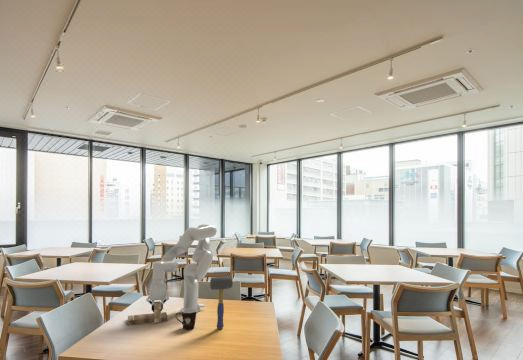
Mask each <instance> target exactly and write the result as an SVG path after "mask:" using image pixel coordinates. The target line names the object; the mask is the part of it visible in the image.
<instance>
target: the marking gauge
mask: <svg viewBox="0 0 523 360" xmlns="http://www.w3.org/2000/svg"><path fill="white" fill-rule="evenodd" d="M153 313H154V322H153V324H154V323H162V322H161V317H162V311H161V300H157V301H154V312H153Z"/></svg>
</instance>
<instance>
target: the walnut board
mask: <svg viewBox="0 0 523 360" xmlns="http://www.w3.org/2000/svg"><path fill="white" fill-rule="evenodd" d="M161 313H162V317H161V322H160V323H162V322H167V321H169V320H168V319H169V317H168V313H167V312H166V311H161ZM152 323H153V324H154V312H151V313H143V314H132V315H127V326H132V325H140V324H141V325H142V324H152Z"/></svg>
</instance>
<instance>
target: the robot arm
mask: <svg viewBox="0 0 523 360" xmlns="http://www.w3.org/2000/svg"><path fill="white" fill-rule="evenodd" d="M217 232H218V231H217V228H216V226H215V225H212V224H198V226H197V227H193V226H192V227H191V226H190V227H188V228H187V229H186V230H185V231H184V233H183V234H182V235H181V236H180V239H179V240H178V241H177V243H176V244H175V245H174V246H172V247H171V248H170V249H168V250H167V251H165V253H164V254H163V256H162V258H161V259H160V260H159V261H158V260H156V261H154V262H153V265H152V279H151V280H152V282H151V283H150V286H149V293H148V294H149V295H148V296H147V298H146V300H145V301H146V302H147V303H149V304H150V306H151V311H152V313H154V302H156V301H161V312H163V310H164V304H165V303H166V302H167V301H169V300H170V298H169V295H168V294H167V281H168V279H167V278H166V273H174V272H176V271H177V270H178V268H179V263H178V262H177V261H176V260H174V259H175V258H176V257H178V256H179V255H181V254H184V253H186V252H188V251H189V249H190V247H191V246H192V244H193V243H194V241H198V243H197V245H196V247H195V248H194V251H193V254H192V257H191V259H192V261H193V262H194V263H187V264H185V266H184V268H183V279H184V282H183V283H184V287H183V288H184V289H183V292H184V293H183V307H182V308H181V309H180V313H182V310H184V309H190V308H191V309H196V310H197V313H198V312H200V310H201V308H205V306H206V305H205V304H204V303H199V281H201V280H204V279H205V277H206V276H207V273H208V271H209V269H210V267H211V264H212V263H213V258H214V257H213V253H212V251H210V250H209V249H210V246H211V238H213V237H215V236H216V234H217Z"/></svg>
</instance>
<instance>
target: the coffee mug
mask: <svg viewBox="0 0 523 360" xmlns="http://www.w3.org/2000/svg"><path fill="white" fill-rule="evenodd" d="M197 313H198V312H197V310H196V309H191V308H190V309H184V310H182V312H176V314H175V319H176V320H177V321H178V322H180V323H181V324H182V329H183V330H184V331H193V330H194V329H195V325H196V319H197ZM178 314H180V315H181V317H182V321H181V320H180V319H179V318H178V317H177V315H178Z"/></svg>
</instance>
